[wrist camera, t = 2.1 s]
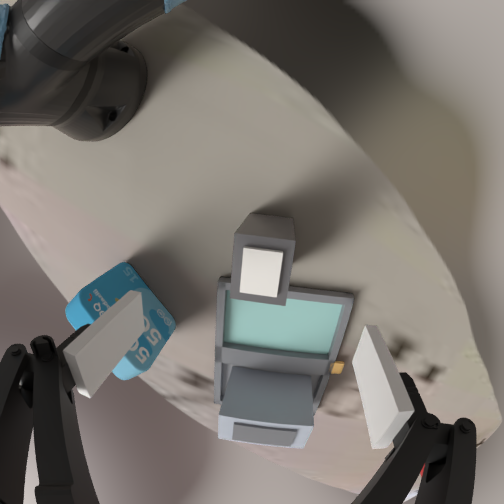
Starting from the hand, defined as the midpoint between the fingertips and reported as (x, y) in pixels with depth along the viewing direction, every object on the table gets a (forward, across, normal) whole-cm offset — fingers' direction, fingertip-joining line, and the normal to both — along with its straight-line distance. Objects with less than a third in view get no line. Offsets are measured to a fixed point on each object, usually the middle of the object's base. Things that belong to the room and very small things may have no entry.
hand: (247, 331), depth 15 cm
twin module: (+19, +3, -23) cm, 30 cm away
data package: (+19, -17, -11) cm, 28 cm away
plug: (+19, 0, 0) cm, 19 cm away
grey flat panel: (+19, +3, -17) cm, 25 cm away
